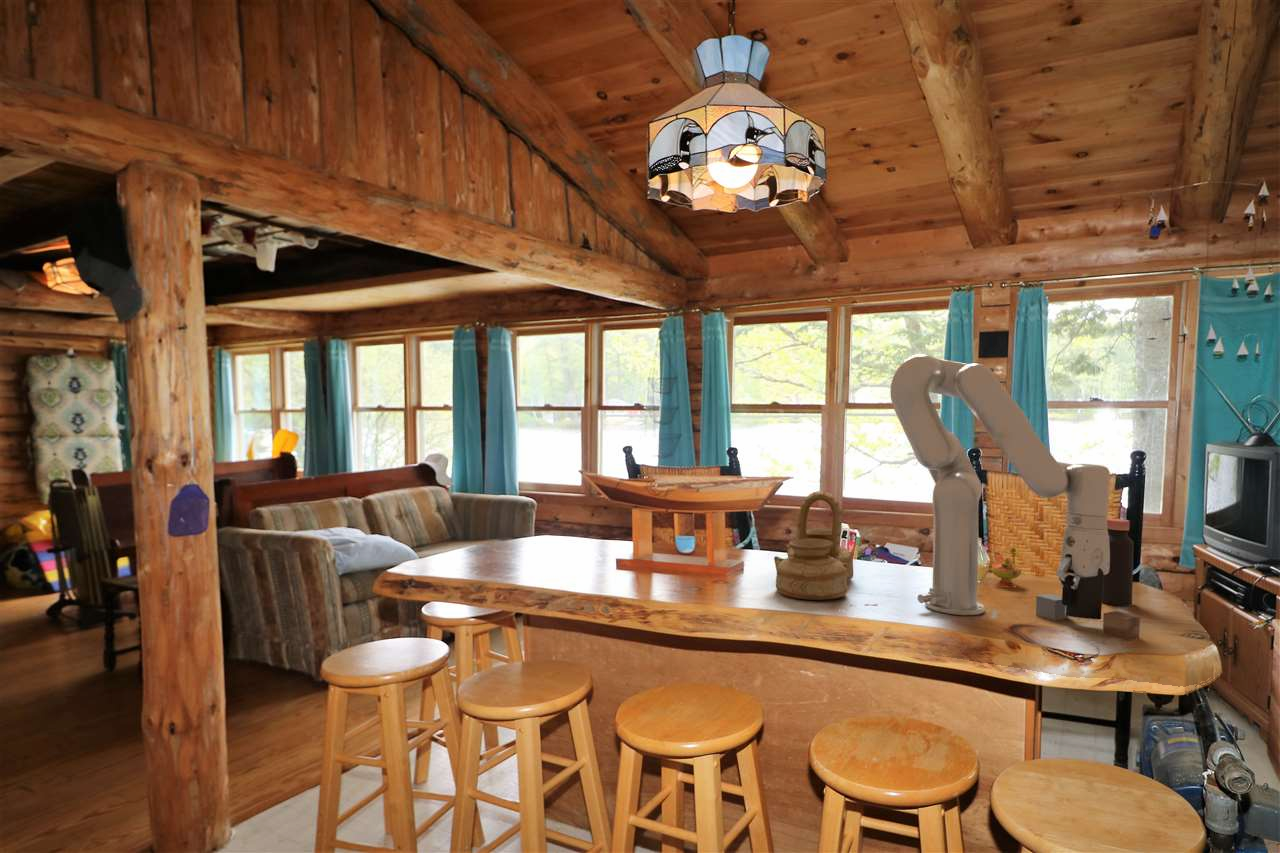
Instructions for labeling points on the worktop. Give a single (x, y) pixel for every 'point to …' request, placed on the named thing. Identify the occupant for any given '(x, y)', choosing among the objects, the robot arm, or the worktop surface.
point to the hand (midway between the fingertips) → (1081, 603)
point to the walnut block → (1121, 625)
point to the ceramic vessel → (815, 557)
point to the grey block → (1050, 607)
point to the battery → (1088, 597)
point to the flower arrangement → (1005, 569)
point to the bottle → (1119, 564)
